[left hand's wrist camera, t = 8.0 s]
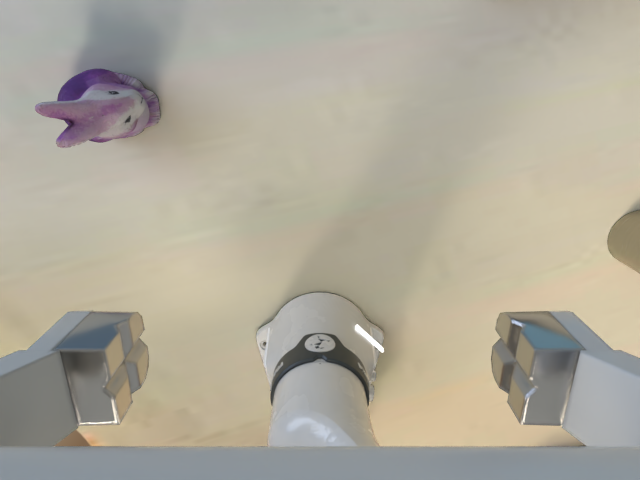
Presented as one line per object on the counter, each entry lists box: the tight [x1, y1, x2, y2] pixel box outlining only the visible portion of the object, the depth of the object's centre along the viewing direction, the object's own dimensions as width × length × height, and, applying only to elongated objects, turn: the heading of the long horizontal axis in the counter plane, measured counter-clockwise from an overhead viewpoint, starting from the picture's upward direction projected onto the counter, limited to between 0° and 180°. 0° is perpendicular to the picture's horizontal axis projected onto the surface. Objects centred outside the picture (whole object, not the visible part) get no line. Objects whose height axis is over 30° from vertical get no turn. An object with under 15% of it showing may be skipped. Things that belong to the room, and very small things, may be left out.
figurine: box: [35, 69, 160, 148], centre depth 47 cm, size 9×10×15 cm
